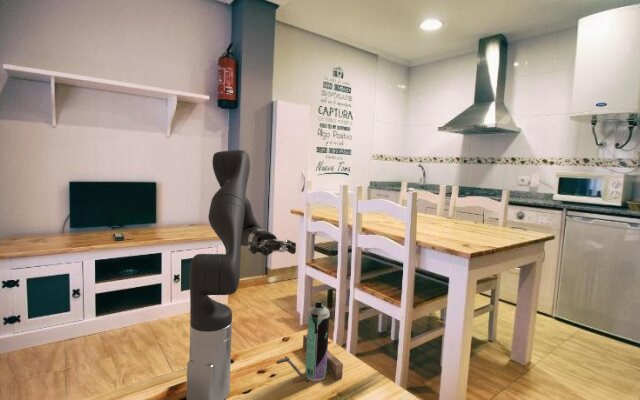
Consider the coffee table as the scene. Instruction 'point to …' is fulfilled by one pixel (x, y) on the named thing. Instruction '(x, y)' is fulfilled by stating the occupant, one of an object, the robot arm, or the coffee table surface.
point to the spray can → (317, 342)
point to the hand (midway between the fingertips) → (281, 251)
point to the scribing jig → (332, 364)
